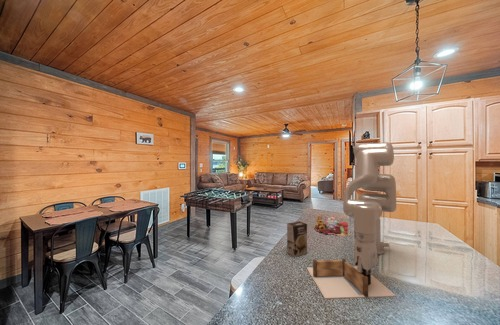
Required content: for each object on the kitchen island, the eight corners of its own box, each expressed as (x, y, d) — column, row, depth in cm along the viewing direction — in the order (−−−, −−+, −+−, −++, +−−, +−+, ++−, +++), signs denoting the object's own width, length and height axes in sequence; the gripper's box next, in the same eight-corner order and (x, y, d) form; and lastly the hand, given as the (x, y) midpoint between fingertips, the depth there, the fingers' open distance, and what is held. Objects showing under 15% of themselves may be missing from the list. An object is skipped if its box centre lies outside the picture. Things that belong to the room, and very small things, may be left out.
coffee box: (294, 257, 97) (294, 226, 98) (286, 252, 103) (286, 223, 103) (307, 253, 102) (307, 223, 102) (299, 249, 107) (299, 220, 108)
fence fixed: (344, 274, 82) (344, 258, 82) (346, 276, 80) (346, 260, 80) (312, 275, 81) (312, 259, 81) (313, 277, 80) (313, 261, 80)
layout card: (361, 266, 88) (361, 265, 88) (395, 296, 68) (395, 295, 68) (306, 268, 87) (306, 267, 87) (325, 299, 67) (324, 297, 67)
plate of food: (314, 234, 130) (314, 221, 130) (313, 224, 153) (313, 212, 153) (354, 238, 123) (354, 223, 123) (347, 226, 146) (347, 214, 146)
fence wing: (344, 277, 80) (344, 260, 80) (347, 276, 80) (347, 260, 80) (365, 297, 68) (365, 278, 68) (369, 296, 68) (368, 277, 68)
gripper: (366, 244, 67) (367, 296, 66) (382, 234, 75) (383, 280, 75) (345, 237, 73) (346, 285, 72) (362, 229, 81) (363, 272, 81)
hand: (365, 282), depth 74 cm, fingers closed
